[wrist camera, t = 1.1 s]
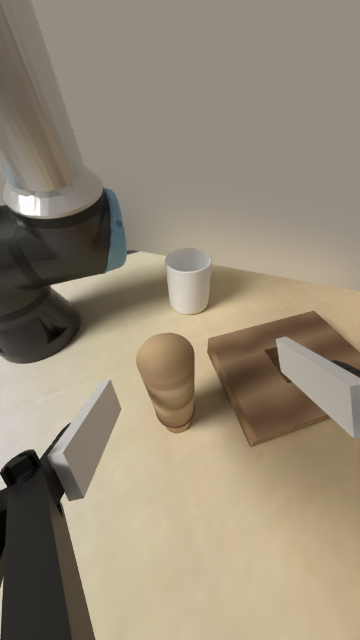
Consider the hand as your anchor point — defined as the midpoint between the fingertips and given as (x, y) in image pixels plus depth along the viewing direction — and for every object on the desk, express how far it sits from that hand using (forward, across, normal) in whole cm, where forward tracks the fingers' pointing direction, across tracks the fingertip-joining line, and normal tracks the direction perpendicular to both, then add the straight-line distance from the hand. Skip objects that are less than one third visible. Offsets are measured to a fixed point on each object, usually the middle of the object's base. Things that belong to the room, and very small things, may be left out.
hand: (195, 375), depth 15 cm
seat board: (+15, +13, -11) cm, 23 cm away
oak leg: (+10, -4, -11) cm, 16 cm away
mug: (+32, +2, +2) cm, 32 cm away
